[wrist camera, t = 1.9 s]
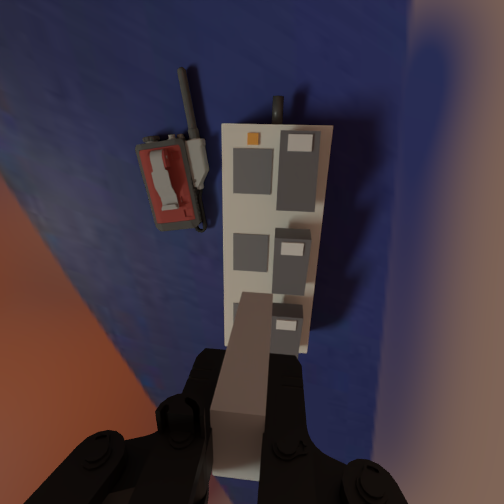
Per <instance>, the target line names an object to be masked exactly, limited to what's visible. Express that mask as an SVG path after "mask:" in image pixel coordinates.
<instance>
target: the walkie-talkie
mask: <svg viewBox="0 0 504 504" xmlns="http://www.w3.org/2000/svg"><path fill="white" fill-rule="evenodd" d="M177 72H178V78H179V83H180V88H181V93H182V98H183V103H184V108H185V113H186V118H187V123H188V128H189V129H188V134H189V139H190V140H187V139H185V137H184V135H183V134H178V135H177V138H175V134H174V135H168V137H169V139H168V140H165V141H159V140H160V137H159V136H148V137H144V138H143V142H146V144H140V145H136V148H135V151H136V155H137V158H138V162H139V166H140V170H141V173H142V177H143V181H144V184H145V188H146V190H147V191H146V192H147V194H148V195H147V196H148V198H149V199H148V200H149V202H150V203H149V204H150V205H151V209H152V213H153V217H154V221H155V222H154V223H155V224H156V227H157V228H158V229H159V230H160V231H170V230H179V229H188V228H195V229H196V231H198V232H204V231H205V230H206V228H207V223H206V218H205V213H204V208H203V203H202V197H201V195H202V189H203V188H204V185H203V182H204V180H205V178H206V176H207V173H208V171H209V165H208V160H207V154H206V149H205V145H206V143H205V139H200V136H199V131H198V128H197V126H196V121H195V116H194V110H193V105H192V100H191V95H190V89H189V84H188V79H187V74H186V70H185V69H184V68H183V67H180V68H179V69H178V71H177ZM198 189H199V190H198ZM202 221H203V229H200V228H199V227H198V225H199V224H200V223H201V222H202Z"/></svg>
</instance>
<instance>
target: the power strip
mask: <svg viewBox="0 0 504 504" xmlns="http://www.w3.org/2000/svg"><path fill="white" fill-rule="evenodd" d="M283 102H284V96H273V109H272V124H222V186H223V256H224V326H225V346H228V342H229V338H230V335H231V331H232V327H233V324H234V320H235V316H236V313H237V309H238V305H239V302H240V298H241V294H242V292H256V293H270V294H272V278H273V258H274V239H275V228H292V229H310V232H311V238H312V242H311V249H310V256H309V264H308V271H307V278H306V286H305V293H304V296H299V295H285V294H273V303H287V304H300V305H303V325H302V332H301V339H300V346H299V353H307V347H308V339H309V330H310V322H311V313H312V304H313V296H314V287H315V279H316V270H317V261H318V253H319V244H320V236H321V227H322V218H323V210H324V201H325V193H326V184H327V175H328V167H329V158H330V150H331V141H332V133H333V126H328V125H282V120H283ZM281 130H296V131H321V138H320V150H319V163H318V176H317V188H316V201H315V212H300V211H278V210H276V203H277V186H278V168H279V151H280V133H281Z"/></svg>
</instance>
